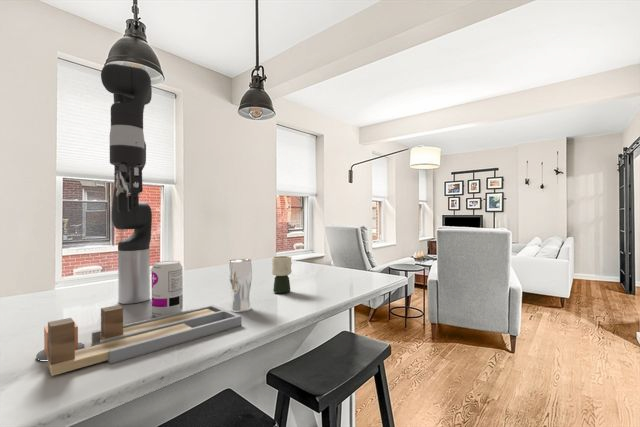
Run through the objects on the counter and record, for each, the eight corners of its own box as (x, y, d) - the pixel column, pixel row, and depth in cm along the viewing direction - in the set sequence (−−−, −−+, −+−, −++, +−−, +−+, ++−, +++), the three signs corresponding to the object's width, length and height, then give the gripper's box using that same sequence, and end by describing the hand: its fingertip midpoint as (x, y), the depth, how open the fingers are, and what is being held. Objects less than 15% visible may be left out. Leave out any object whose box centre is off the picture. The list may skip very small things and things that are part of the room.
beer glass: (246, 313, 95) (246, 262, 95) (224, 312, 96) (224, 261, 96) (255, 306, 102) (255, 258, 102) (235, 305, 103) (234, 258, 103)
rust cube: (73, 343, 72) (73, 321, 72) (78, 350, 69) (77, 326, 69) (44, 350, 69) (44, 326, 69) (47, 357, 65) (47, 332, 65)
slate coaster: (34, 353, 69) (34, 350, 69) (80, 342, 74) (80, 339, 74) (38, 365, 63) (38, 362, 63) (88, 352, 69) (88, 349, 69)
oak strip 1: (47, 365, 62) (47, 320, 62) (183, 329, 81) (183, 295, 81) (51, 375, 58) (51, 327, 58) (193, 335, 77) (193, 299, 77)
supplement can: (151, 320, 90) (151, 265, 89) (151, 312, 97) (151, 261, 97) (183, 315, 93) (183, 263, 93) (181, 308, 101) (181, 259, 101)
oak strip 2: (100, 340, 74) (99, 307, 74) (207, 314, 93) (207, 287, 93) (106, 347, 70) (106, 312, 70) (217, 318, 89) (217, 290, 89)
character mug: (298, 293, 118) (298, 257, 118) (281, 297, 113) (281, 259, 113) (282, 288, 126) (282, 254, 126) (266, 291, 122) (265, 256, 122)
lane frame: (91, 342, 74) (91, 332, 74) (212, 313, 95) (212, 304, 95) (110, 364, 63) (109, 351, 63) (241, 325, 85) (241, 316, 85)
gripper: (153, 144, 79) (154, 211, 79) (134, 152, 89) (135, 211, 89) (118, 139, 74) (118, 211, 74) (102, 148, 84) (103, 211, 84)
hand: (127, 211), depth 81 cm, fingers open, 8 cm apart
